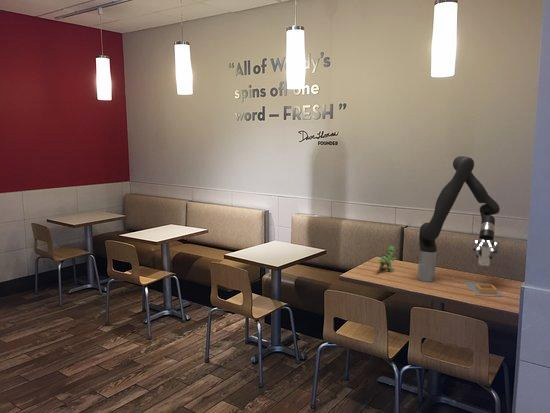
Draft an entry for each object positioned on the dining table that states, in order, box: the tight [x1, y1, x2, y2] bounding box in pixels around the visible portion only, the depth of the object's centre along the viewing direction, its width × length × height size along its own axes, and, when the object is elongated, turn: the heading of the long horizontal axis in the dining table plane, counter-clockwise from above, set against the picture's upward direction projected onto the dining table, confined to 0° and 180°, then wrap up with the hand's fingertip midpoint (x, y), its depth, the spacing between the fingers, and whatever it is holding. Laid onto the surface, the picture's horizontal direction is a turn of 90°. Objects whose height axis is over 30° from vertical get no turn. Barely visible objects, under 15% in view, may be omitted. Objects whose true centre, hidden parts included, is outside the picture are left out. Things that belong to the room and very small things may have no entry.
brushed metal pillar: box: [477, 246, 491, 267], centre depth 269 cm, size 4×4×10 cm
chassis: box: [464, 281, 503, 298], centre depth 269 cm, size 14×22×4 cm, turn 174°
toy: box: [378, 245, 397, 273], centre depth 303 cm, size 12×21×15 cm, turn 172°
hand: (484, 257), depth 267 cm, fingers closed on brushed metal pillar, 5 cm apart
